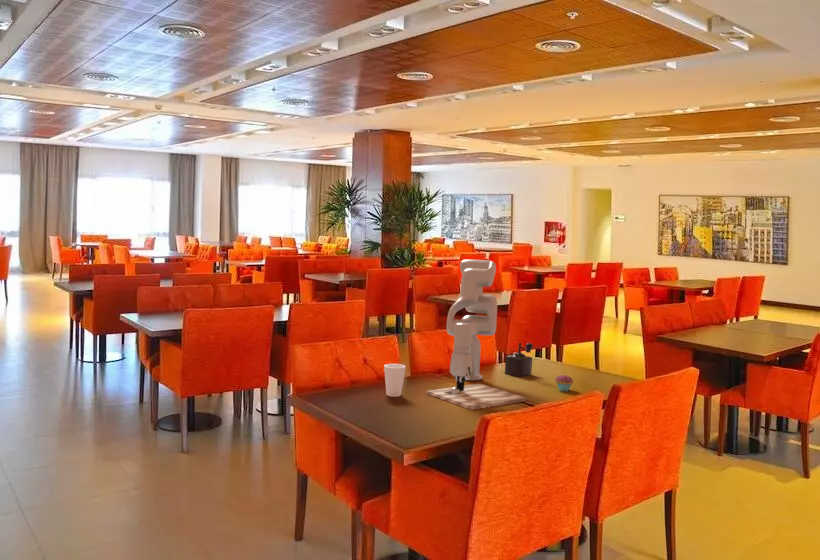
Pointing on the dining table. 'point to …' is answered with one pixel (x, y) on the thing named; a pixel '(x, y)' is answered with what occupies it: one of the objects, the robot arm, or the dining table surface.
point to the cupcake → (564, 382)
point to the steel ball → (455, 391)
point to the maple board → (477, 396)
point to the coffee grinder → (519, 362)
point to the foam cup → (394, 379)
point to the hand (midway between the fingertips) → (460, 390)
